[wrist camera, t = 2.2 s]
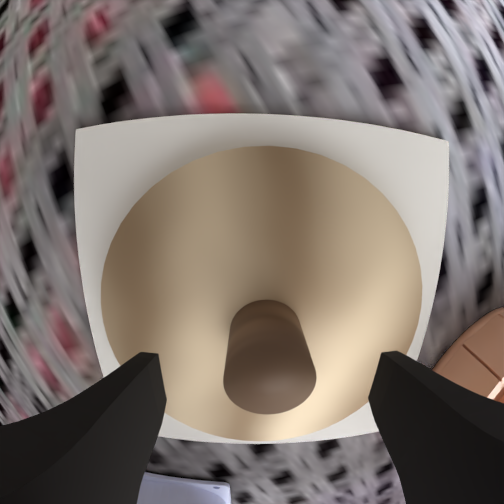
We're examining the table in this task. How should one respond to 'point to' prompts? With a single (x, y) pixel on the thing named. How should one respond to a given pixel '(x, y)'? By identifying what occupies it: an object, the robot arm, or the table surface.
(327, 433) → the white square mat
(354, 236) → the oak lid
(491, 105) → the table surface
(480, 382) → the terracotta bowl
